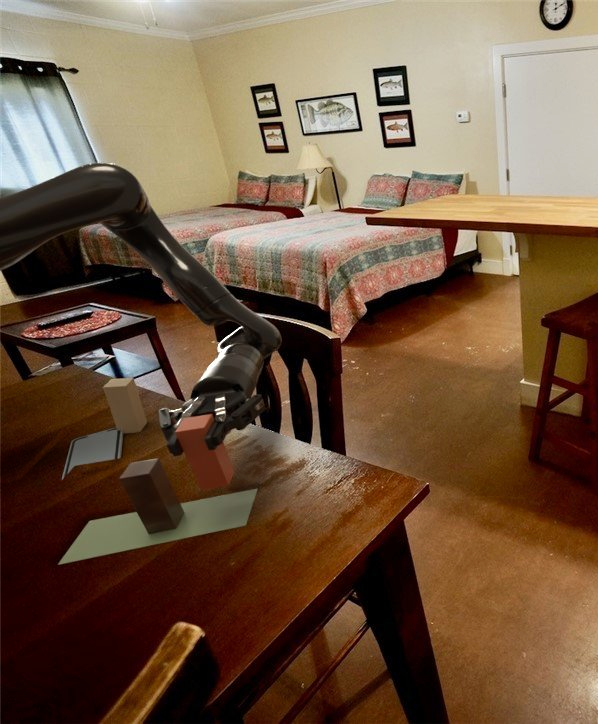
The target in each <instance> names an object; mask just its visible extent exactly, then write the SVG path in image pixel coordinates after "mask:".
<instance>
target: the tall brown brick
mask: <svg viewBox="0 0 598 724" xmlns="http://www.w3.org/2000/svg"><path fill="white" fill-rule="evenodd" d="M165 470H166V469H165V468H164V466H163V464H162V462H161V460H160V458H159V457H158V458H153V459H147V460H141V461H135V462H130V463H129V464H128V466H127V467H126V468H125V469H124V471H123V472H122V474H121V475H120V477H119V478H118V480H119V482H120V484H121V486H122V487H123V490H124V491H125V493H126V495H127V497H128V499H129V501H130V502H131V504H132V506H133V508H134V510H135V512H137V514H138V516H139V518H140V519H141V521H142V523H143V525H144V527H145V529H146V531H147V533H148V534H152V533H157V532H162V531H167V530H172V529H176V528H177V526H178V524H179V522H180V520H181V518H182V516H183V514H184V510H183V508H182V506H181V502H180V499H179V497H178V495H177V493H176V491H175V489H174V487H173V484H172V483H171V481H170V478H169V477H168V474H167V472H166V471H165Z"/></svg>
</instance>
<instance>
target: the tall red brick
mask: <svg viewBox="0 0 598 724" xmlns="http://www.w3.org/2000/svg"><path fill="white" fill-rule="evenodd" d="M212 423H215V420H214V418H213V415H212V414H209V415H202V416H196V417H190V418H184V419H183V421H182V422H181V424H180V425H179V427H178V428H177V430H176V431H175V434H176V436H177V438H178V440H179V442H180V444H181V447H182V449H183V451H184V452H183V453H184V455H185V459H186V460H187V463H188V465H189V467H190V469H191V471H192V473H193V475H194V478H195V480H196V482H197V485H198V487H199V489H200V491H201V492H203V491H209V490H213V489H219V488H225V487H229V486H230V483H231V481H232V479H233V476H234V473H235V467H234V465H233V463H232V460H231V457H230V455H229V452H228V450H227V448H226V445H225V443H224V442H223V443H222V444H221V445H218V447H217V449H215V450H209V449H208V447H207V445H206V442H205V435H206V434H207V432H208V430H209V428H210V427H211V425H212Z"/></svg>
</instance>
